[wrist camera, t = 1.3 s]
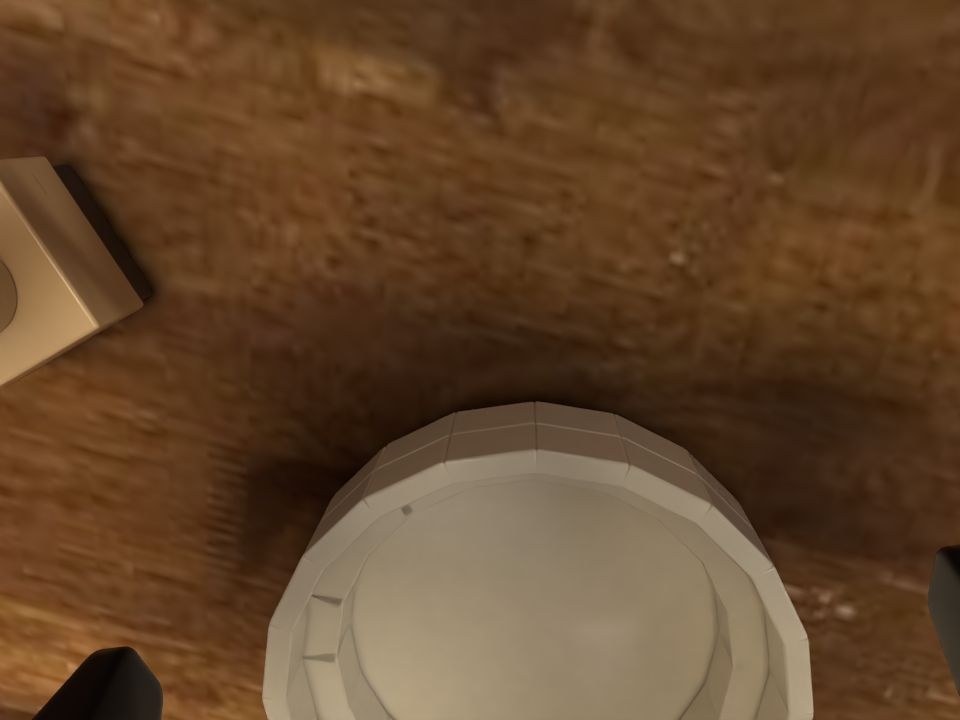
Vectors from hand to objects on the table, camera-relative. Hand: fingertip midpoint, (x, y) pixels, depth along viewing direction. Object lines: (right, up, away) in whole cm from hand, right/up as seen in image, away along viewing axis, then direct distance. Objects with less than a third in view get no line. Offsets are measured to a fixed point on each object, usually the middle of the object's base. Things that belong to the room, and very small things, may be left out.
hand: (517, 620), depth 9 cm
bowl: (+1, -4, +15) cm, 16 cm away
